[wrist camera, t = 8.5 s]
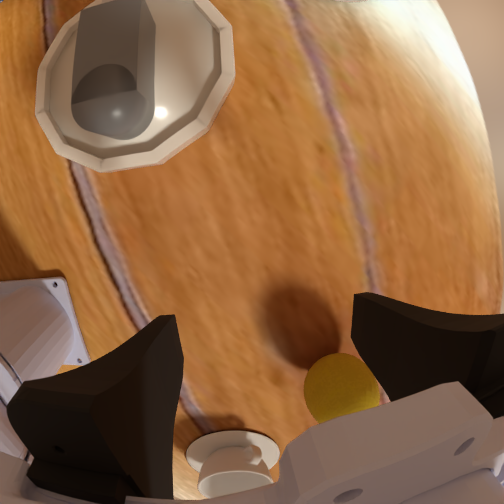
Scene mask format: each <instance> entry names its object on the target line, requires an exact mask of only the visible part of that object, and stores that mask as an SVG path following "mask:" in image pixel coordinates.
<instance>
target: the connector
mask: <svg viewBox="0 0 504 504" xmlns="http://www.w3.org/2000/svg"><path fill="white" fill-rule="evenodd" d="M155 34H156V24H155V22H154V20H153V17H152V15H151V13H150V10H149V8H148V6H147V3H146V1H145V0H102V2H101V4H99V5H96V6H92V7H89V8H86V9H83V10H81V13H80V19H79V25H78V31H77V38H76V45H75V54H74V64H73V76H72V92H71V111H72V115H73V118H74V120H75V122H76V123H77V124H78V125H79V126H80V127H81V128H82V129H84V130H86V131H90V132H93V133H97V134H100V135H103V136H107V137H110V138H113V139H117V140H129V139H133V138H135V137H137V136H139V135H140V134H142V133H143V132H144V131H145V130H146V129H147V128H148V126H149V125H150V123H151V121H152V119H153V116H154V112H155V88H154V76H155Z"/></svg>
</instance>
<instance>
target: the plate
mask: <svg viewBox="0 0 504 504" xmlns="http://www.w3.org/2000/svg"><path fill="white" fill-rule="evenodd" d="M145 1H146V3H147V6H148V8H149V10H150V13H151V15H152V17H153V20H154V22H155V24H156V34H155V76H154V88H155V112H154V116H153V119H152V121H151V123H150V125H149V126H148V128H147V129H146V130H145V131H144V132H143V133H142V134H140V135H139V136H137V137H135V138H133V139H129V140H117V139H113V138H110V137H107V136H103V135H100V134H97V133H93V132H90V131H86V130H84V129H82V128H81V127H80V126H79V125H78V124H77V123H76V122H75V120H74V118H73V115H72V111H71V92H72V76H73V64H74V54H75V45H76V38H77V31H78V25H79V19H80V13H81V11H80V12H79V13H77V14H76V15H75V16H74V17H72V18H71V19H70V20H69V21H67V22H66V23H65V24H64V25H63V26H62V28H61V29H60V31H59V32H58V34H57V36H56V37H55V39H54V41H53V42H52V44H51V46H50V48H49V49H48V51H47V53H46V55H45V56H44V58H43V60H42V62H41V64H40V66H39V69H38V74H37V86H36V103H35V116H36V118H37V120H38V122H39V124H40V125H41V127H42V129H43V131H44V133H45V134H46V136H47V138H48V140H49V142H50V143H51V145H52V147H53V149H54V150H55V152H56V154H58V155H61V156H63V157H65V158H68V159H70V160H72V161H74V162H77V163H79V164H81V165H84V166H86V167H88V168H91V169H93V170H95V171H97V172H100V173H103V172H116V171H122V170H128V169H134V168H140V167H147V166H154V165H161V164H163V163H165V162H166V161H167V160H169V159H170V158H171V157H173V156H174V155H176V154H177V153H178V152H180V151H181V150H182V149H184V148H185V147H187V146H188V145H190V144H191V143H192V142H194V141H195V140H197V139H198V138H200V137H201V136H203V135H204V134H205V133H207V132H208V131H209V130H210V128H211V126H212V124H213V122H214V120H215V118H216V116H217V114H218V112H219V110H220V109H221V107H222V105H223V103H224V101H225V99H226V98H227V96H228V94H229V92H230V90H231V88H232V87H233V85H234V80H235V62H234V48H233V33H232V25H231V24H230V23H229V22H228V21H227V20H226V19H225V17H224V16H223V15H222V14H221V13H220V12H219V11H218V10H217V9H216V7H215V6H214V5H213V4H212V3H211V2H210V1H209V0H145ZM101 2H102V0H95V1H94V2H92V3H91V4H89V5H88V6H87V7H85V8H84V9H86V8H89V7H92V6H96V5H99V4H101Z"/></svg>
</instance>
